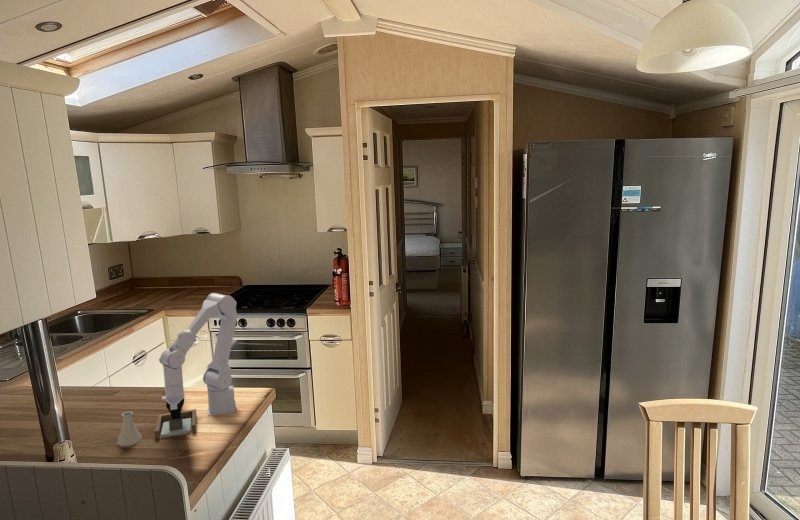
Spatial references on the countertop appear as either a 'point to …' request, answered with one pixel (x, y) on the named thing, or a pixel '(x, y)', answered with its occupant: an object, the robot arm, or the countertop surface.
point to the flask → (128, 431)
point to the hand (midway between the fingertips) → (176, 421)
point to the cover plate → (176, 432)
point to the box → (168, 417)
